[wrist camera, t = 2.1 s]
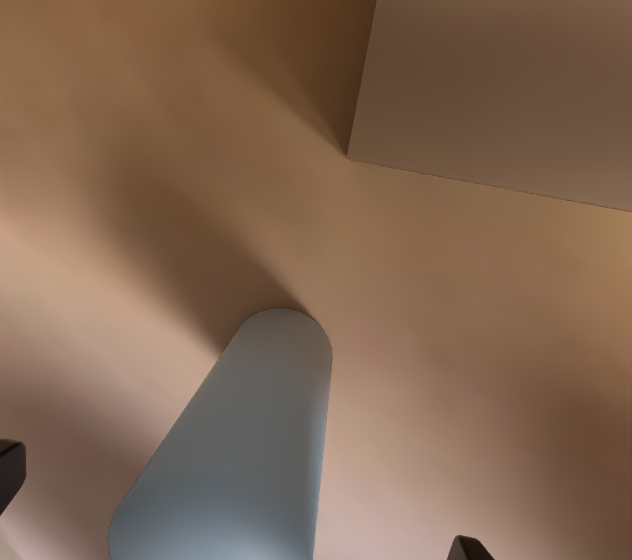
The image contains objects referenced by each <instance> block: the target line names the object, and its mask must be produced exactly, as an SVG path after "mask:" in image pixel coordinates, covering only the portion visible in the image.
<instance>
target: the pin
mask: <svg viewBox="0 0 632 560" xmlns="http://www.w3.org/2000/svg"><path fill="white" fill-rule="evenodd" d="M331 369H332V348H331V344H330V341H329V339H328V337H327V335H326V333H325V331H324V330H323V329H322V327H321V326H320V325H319V324H318V323H317V322H316V321H315V320H313V319H312V318H311V317H309V316H308V315H306V314H304V313H302V312H299V311H297V310H293V309H288V308H270V309H266V310H263V311H260V312H258V313H256V314H254V315H252V316H251V317H249V318H248V319H247V320H246V321H245V322H244V323H243V324H242V325H241V327H240V328H239V329H238V331H237V332H236V334H235V335H234V337H233V338H232V340H231V341H230V343H229V344H228V346H227V347H226V349H225V350H224V352H223V353H222V355H221V356H220V357H219V359H218V360H217V362H216V363H215V365H214V366H213V368H212V369H211V371H210V372H209V374H208V375H207V377H206V378H205V380H204V381H203V383H202V384H201V386H200V387H199V389H198V390H197V392H196V393H195V394H194V396H193V397H192V399H191V400H190V402H189V403H188V405H187V406H186V408H185V409H184V411H183V412H182V414H181V415H180V417H179V418H178V420H177V421H176V423H175V424H174V426H173V427H172V429H171V430H170V431H169V433H168V434H167V436H166V437H165V439H164V440H163V442H162V443H161V445H160V446H159V448H158V449H157V451H156V452H155V454H154V455H153V457H152V458H151V460H150V461H149V463H148V464H147V466H146V467H145V468H144V470H143V471H142V473H141V474H140V476H139V477H138V479H137V480H136V482H135V483H134V485H133V486H132V488H131V489H130V491H129V492H128V494H127V495H126V497H125V498H124V500H123V501H122V502H121V504H120V505H119V507H118V508H117V510H116V512H115V514H114V516H113V518H112V522H111V525H110V529H109V536H108V544H109V553H110V558H111V560H313V552H314V542H315V532H316V521H317V511H318V501H319V491H320V481H321V470H322V460H323V450H324V440H325V430H326V420H327V409H328V399H329V389H330V379H331Z"/></svg>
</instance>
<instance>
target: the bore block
mask: <svg viewBox="0 0 632 560" xmlns="http://www.w3.org/2000/svg"><path fill="white" fill-rule="evenodd" d="M347 159H348V160H354V161H359V162H364V163H370V164H375V165H381V166H386V167H391V168H397V169H402V170H408V171H413V172H418V173H424V174H429V175H434V176H440V177H445V178H451V179H456V180H461V181H467V182H472V183H478V184H483V185H488V186H494V187H499V188H504V189H510V190H515V191H521V192H526V193H531V194H537V195H542V196H547V197H553V198H558V199H564V200H569V201H574V202H580V203H585V204H591V205H596V206H601V207H607V208H612V209H617V210H623V211H628V212H632V0H377V1H376V6H375V12H374V17H373V22H372V27H371V33H370V38H369V43H368V48H367V54H366V59H365V64H364V69H363V74H362V80H361V85H360V90H359V95H358V101H357V106H356V111H355V116H354V122H353V127H352V132H351V137H350V143H349V148H348V153H347Z"/></svg>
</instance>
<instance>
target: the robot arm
mask: <svg viewBox="0 0 632 560" xmlns="http://www.w3.org/2000/svg"><path fill="white" fill-rule="evenodd" d="M25 477H26V447H25V445H24V443H22V442H20V441H16V440H11V439H0V516H1V514H2V513H3V511H4V510H5V509H6V507H7V506H8V505H9V503H10V502H11V500H12V499H13V498H14V496H15V495H16V494H17V492H18V491H19V489H20V488H21V486H22V485H23V483H24V480H25ZM447 560H494V558H493V557H492V556H491V555H490V553H489V552H488V551H487V550H486V548H485V547H484V546H483V545H482V544H481V542H480V541H479V540H477V539H475V538H472V537H467V536H462V535H457V536H456V537H455V538H454V540H453V543H452V546H451V549H450V552H449V555H448V558H447Z"/></svg>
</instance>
